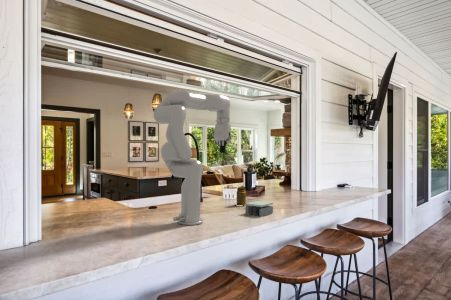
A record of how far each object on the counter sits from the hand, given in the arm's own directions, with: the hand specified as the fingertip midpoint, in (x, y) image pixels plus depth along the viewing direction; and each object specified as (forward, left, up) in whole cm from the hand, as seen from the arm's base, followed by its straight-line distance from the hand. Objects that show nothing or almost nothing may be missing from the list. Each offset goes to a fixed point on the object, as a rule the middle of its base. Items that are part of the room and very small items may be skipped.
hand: (222, 152), depth 171 cm
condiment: (+27, +8, -35) cm, 45 cm away
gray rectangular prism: (+14, -17, -35) cm, 41 cm away
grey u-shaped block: (+14, -17, -35) cm, 41 cm away
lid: (+14, -16, -30) cm, 37 cm away
